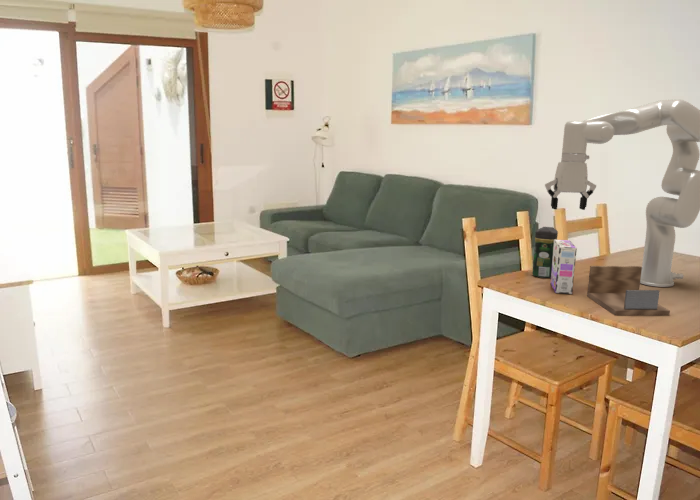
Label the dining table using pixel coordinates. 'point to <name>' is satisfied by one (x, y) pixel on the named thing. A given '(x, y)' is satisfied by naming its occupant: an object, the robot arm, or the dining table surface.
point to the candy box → (563, 266)
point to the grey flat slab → (641, 299)
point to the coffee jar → (544, 251)
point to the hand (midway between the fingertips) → (568, 209)
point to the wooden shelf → (617, 288)
